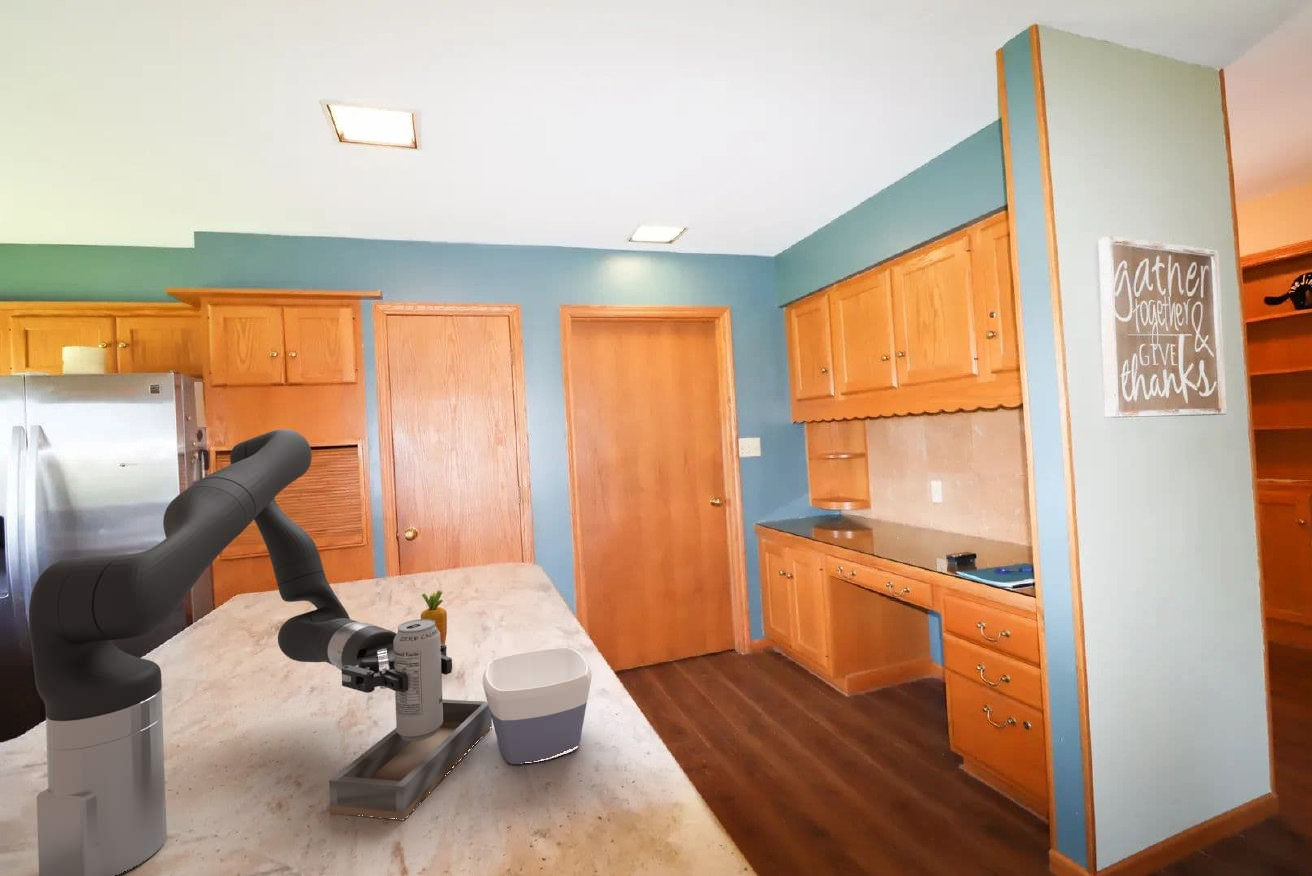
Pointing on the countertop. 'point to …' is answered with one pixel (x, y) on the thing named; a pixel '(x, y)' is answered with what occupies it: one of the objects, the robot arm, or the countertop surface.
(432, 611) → the carrot
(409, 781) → the rectangular tray
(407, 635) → the energy drink can
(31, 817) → the countertop surface
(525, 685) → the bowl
